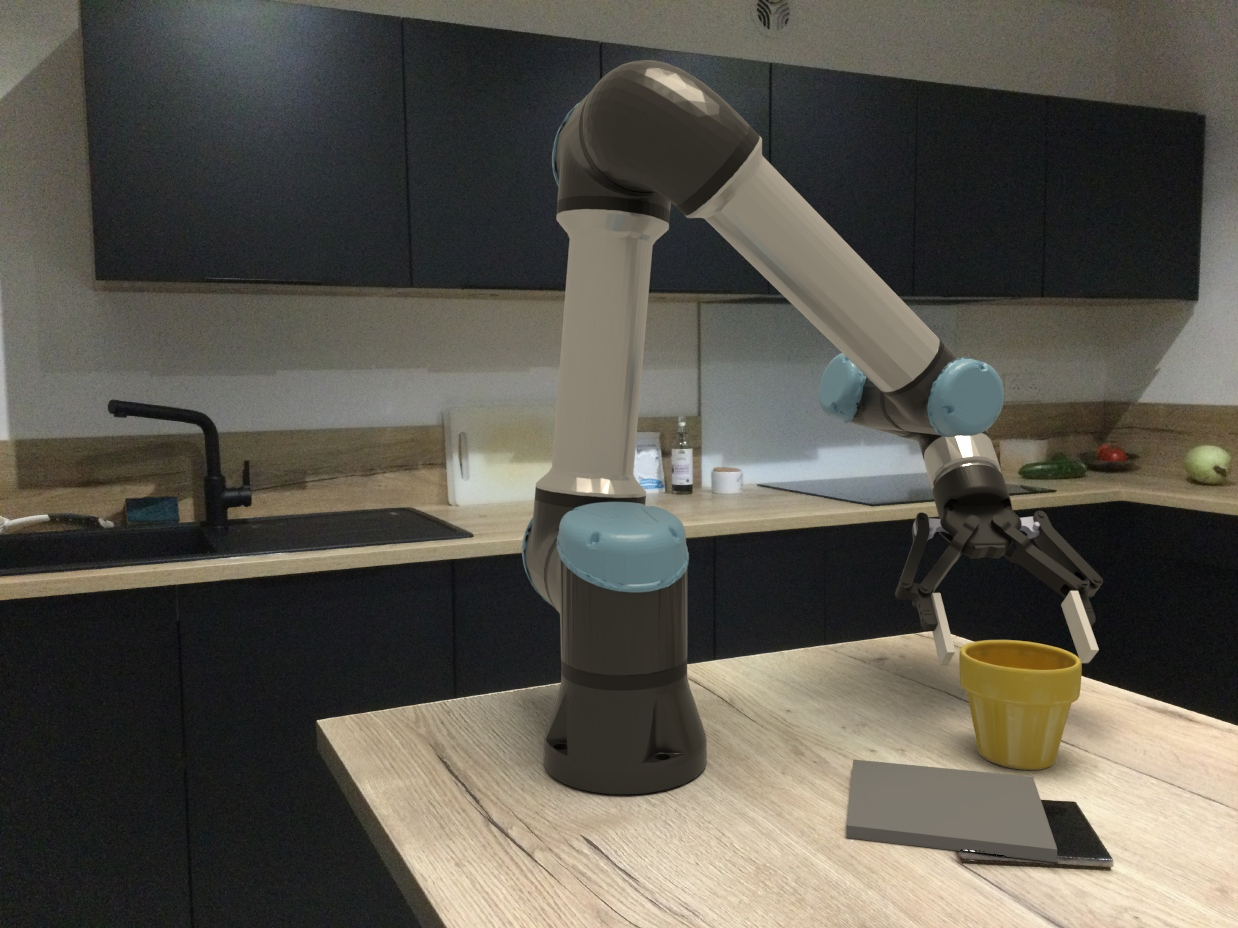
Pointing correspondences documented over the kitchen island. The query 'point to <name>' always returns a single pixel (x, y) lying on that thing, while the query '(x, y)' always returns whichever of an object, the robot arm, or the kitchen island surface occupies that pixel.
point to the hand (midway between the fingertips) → (1018, 658)
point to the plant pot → (1019, 699)
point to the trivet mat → (948, 810)
